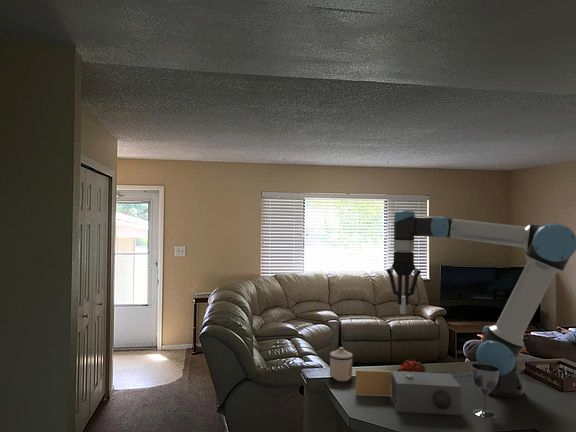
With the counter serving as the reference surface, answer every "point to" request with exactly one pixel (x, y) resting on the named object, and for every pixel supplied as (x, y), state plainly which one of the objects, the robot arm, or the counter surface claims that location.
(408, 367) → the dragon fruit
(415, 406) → the camera case
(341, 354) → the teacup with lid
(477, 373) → the wine glass
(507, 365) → the robot arm
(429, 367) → the counter surface
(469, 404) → the counter surface
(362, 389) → the door
